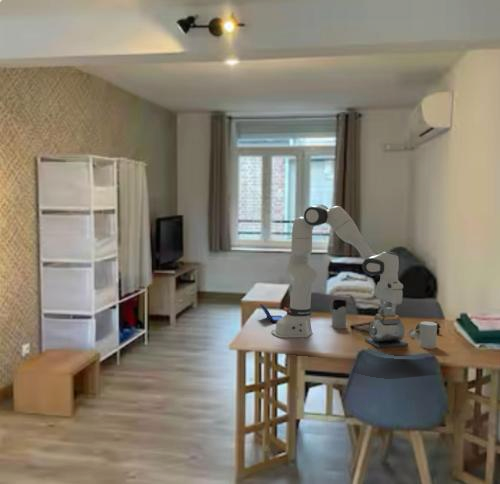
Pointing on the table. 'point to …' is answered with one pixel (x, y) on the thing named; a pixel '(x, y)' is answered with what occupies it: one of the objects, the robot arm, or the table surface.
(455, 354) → the table surface
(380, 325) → the motor
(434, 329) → the cup
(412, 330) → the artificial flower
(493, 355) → the table surface
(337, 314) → the glass holder
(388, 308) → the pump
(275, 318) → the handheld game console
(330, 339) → the table surface
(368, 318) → the table surface
